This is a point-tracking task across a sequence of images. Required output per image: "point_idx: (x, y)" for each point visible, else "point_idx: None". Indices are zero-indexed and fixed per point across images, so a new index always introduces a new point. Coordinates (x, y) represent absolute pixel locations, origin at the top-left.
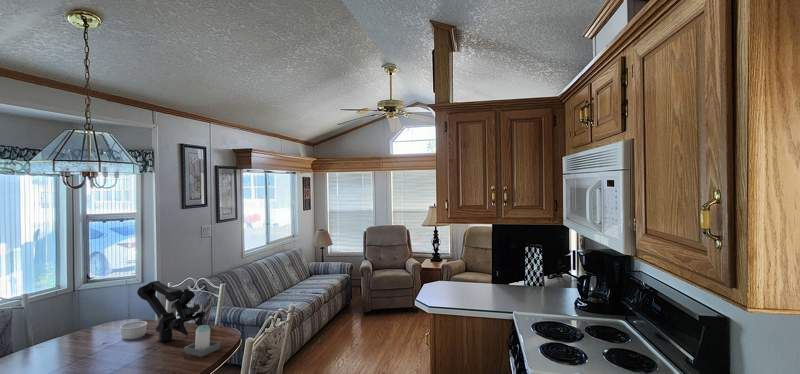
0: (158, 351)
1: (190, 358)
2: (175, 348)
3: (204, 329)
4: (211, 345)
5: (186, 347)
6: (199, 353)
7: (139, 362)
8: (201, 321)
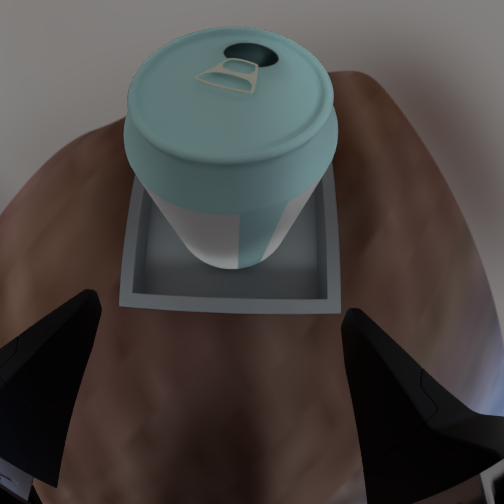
0: (362, 474)
1: (359, 193)
2: (286, 440)
3: (274, 46)
4: (154, 202)
5: (334, 288)
6: None
7: (478, 399)
8: (1, 361)
